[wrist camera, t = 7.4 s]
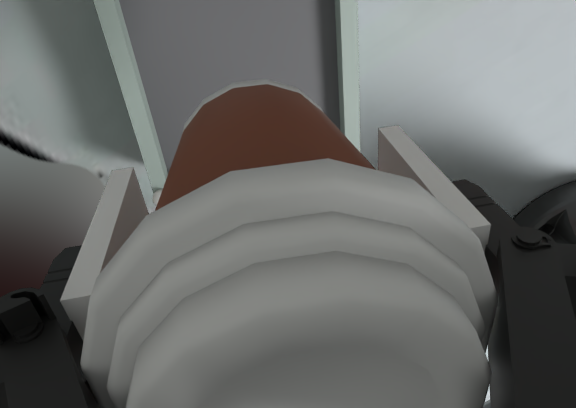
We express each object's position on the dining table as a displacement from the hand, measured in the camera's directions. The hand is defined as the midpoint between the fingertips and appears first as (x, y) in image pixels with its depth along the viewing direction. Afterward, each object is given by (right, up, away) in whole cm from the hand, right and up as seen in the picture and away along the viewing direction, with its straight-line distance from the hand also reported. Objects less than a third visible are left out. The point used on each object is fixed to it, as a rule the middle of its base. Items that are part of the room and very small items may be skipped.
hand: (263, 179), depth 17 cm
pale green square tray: (-2, +9, +14) cm, 17 cm away
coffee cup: (0, +1, +2) cm, 2 cm away
